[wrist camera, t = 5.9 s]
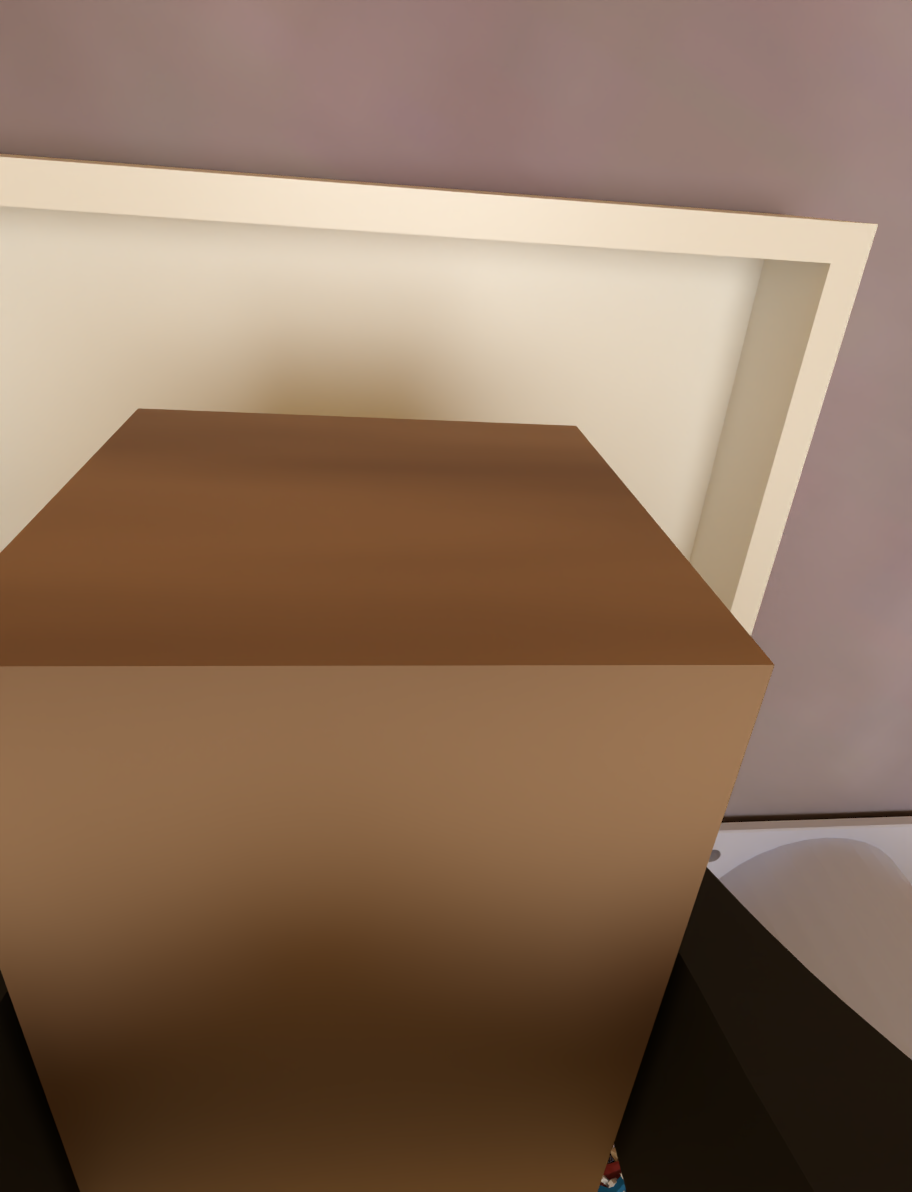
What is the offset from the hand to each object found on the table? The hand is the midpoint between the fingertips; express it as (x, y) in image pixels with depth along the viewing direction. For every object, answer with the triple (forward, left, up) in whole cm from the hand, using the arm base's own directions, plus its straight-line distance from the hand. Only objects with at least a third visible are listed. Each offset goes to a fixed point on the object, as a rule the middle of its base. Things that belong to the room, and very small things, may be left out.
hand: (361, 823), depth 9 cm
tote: (0, 0, -8) cm, 8 cm away
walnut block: (0, 0, -2) cm, 2 cm away
